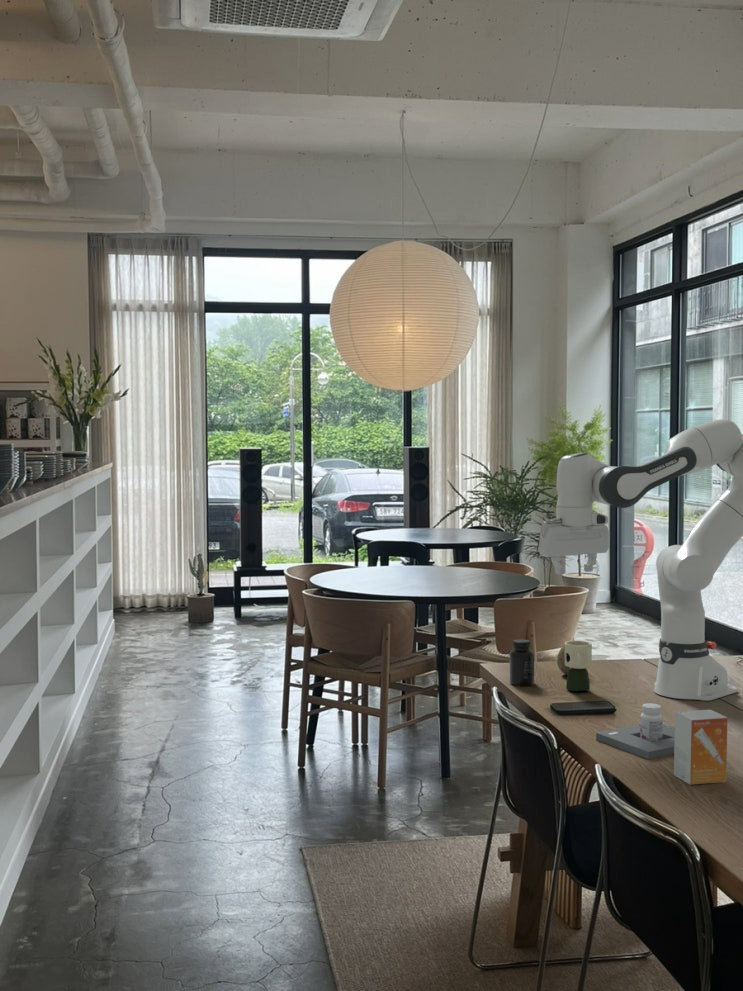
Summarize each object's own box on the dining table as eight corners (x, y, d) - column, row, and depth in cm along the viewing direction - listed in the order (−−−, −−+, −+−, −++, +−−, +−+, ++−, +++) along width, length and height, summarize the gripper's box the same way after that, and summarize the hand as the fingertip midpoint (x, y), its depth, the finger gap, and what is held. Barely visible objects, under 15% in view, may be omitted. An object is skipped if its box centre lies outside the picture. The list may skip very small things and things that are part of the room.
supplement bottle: (533, 680, 277) (533, 638, 277) (535, 686, 271) (535, 643, 270) (508, 680, 278) (509, 638, 277) (510, 686, 271) (510, 643, 271)
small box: (690, 786, 192) (691, 719, 191) (673, 775, 198) (673, 711, 197) (727, 782, 194) (728, 717, 193) (709, 772, 200) (710, 708, 199)
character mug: (563, 685, 272) (564, 638, 271) (590, 686, 271) (590, 639, 270) (565, 695, 261) (565, 646, 261) (592, 696, 260) (593, 647, 259)
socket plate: (654, 728, 231) (654, 721, 231) (708, 746, 217) (708, 738, 217) (596, 739, 222) (596, 732, 222) (648, 759, 208) (648, 751, 208)
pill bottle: (637, 740, 222) (637, 703, 221) (657, 739, 222) (657, 702, 222) (644, 746, 217) (645, 708, 216) (665, 745, 217) (666, 708, 217)
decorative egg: (582, 673, 287) (582, 638, 286) (582, 678, 280) (582, 643, 279) (557, 671, 288) (557, 638, 288) (556, 677, 281) (556, 642, 281)
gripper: (549, 520, 239) (549, 577, 240) (613, 516, 249) (613, 571, 250) (533, 518, 245) (533, 574, 246) (596, 515, 255) (595, 568, 256)
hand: (574, 572), depth 248 cm, fingers open, 8 cm apart
